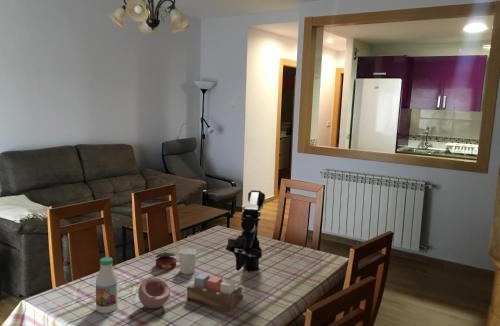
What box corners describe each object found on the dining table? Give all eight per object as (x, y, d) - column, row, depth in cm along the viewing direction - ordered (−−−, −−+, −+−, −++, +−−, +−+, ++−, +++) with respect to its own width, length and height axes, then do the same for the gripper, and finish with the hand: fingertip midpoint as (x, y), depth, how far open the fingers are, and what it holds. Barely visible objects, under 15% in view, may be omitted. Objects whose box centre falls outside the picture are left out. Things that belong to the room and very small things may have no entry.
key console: (203, 288, 174) (203, 275, 173) (242, 298, 166) (243, 284, 166) (187, 300, 163) (187, 286, 162) (229, 312, 155) (229, 297, 154)
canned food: (155, 277, 195) (146, 258, 194) (167, 267, 204) (158, 250, 203) (173, 271, 190) (163, 252, 189) (184, 261, 199) (175, 243, 198)
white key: (225, 296, 164) (226, 278, 163) (234, 298, 163) (235, 281, 162) (219, 301, 160) (220, 283, 159) (228, 303, 158) (229, 285, 157)
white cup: (192, 275, 187) (193, 254, 186) (176, 273, 188) (177, 253, 187) (198, 268, 195) (198, 249, 193) (182, 267, 196) (183, 247, 195)
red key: (213, 293, 167) (213, 275, 166) (221, 295, 165) (222, 277, 164) (206, 298, 162) (207, 280, 161) (215, 300, 160) (216, 282, 159)
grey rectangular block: (200, 289, 169) (200, 272, 168) (208, 292, 167) (209, 274, 166) (194, 294, 165) (194, 277, 163) (202, 296, 163) (203, 279, 162)
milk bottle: (99, 303, 158) (98, 255, 155) (119, 303, 158) (119, 255, 156) (93, 314, 150) (92, 263, 147) (114, 313, 151) (114, 263, 148)
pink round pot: (154, 317, 149) (154, 288, 147) (131, 308, 155) (131, 280, 154) (176, 305, 159) (176, 277, 157) (154, 296, 165) (154, 270, 164)
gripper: (222, 228, 181) (211, 262, 176) (247, 230, 166) (236, 268, 161) (240, 236, 187) (230, 269, 182) (266, 239, 172) (256, 275, 167)
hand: (237, 270), depth 173 cm, fingers closed
